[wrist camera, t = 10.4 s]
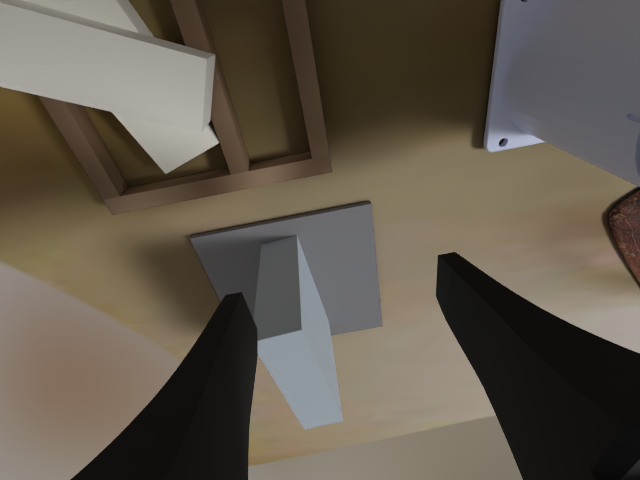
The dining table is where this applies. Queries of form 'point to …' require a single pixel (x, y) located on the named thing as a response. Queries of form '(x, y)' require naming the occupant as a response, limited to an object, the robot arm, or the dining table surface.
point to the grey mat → (321, 255)
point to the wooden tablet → (628, 229)
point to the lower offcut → (156, 138)
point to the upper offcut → (103, 66)
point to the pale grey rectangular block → (296, 334)
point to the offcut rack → (239, 170)
